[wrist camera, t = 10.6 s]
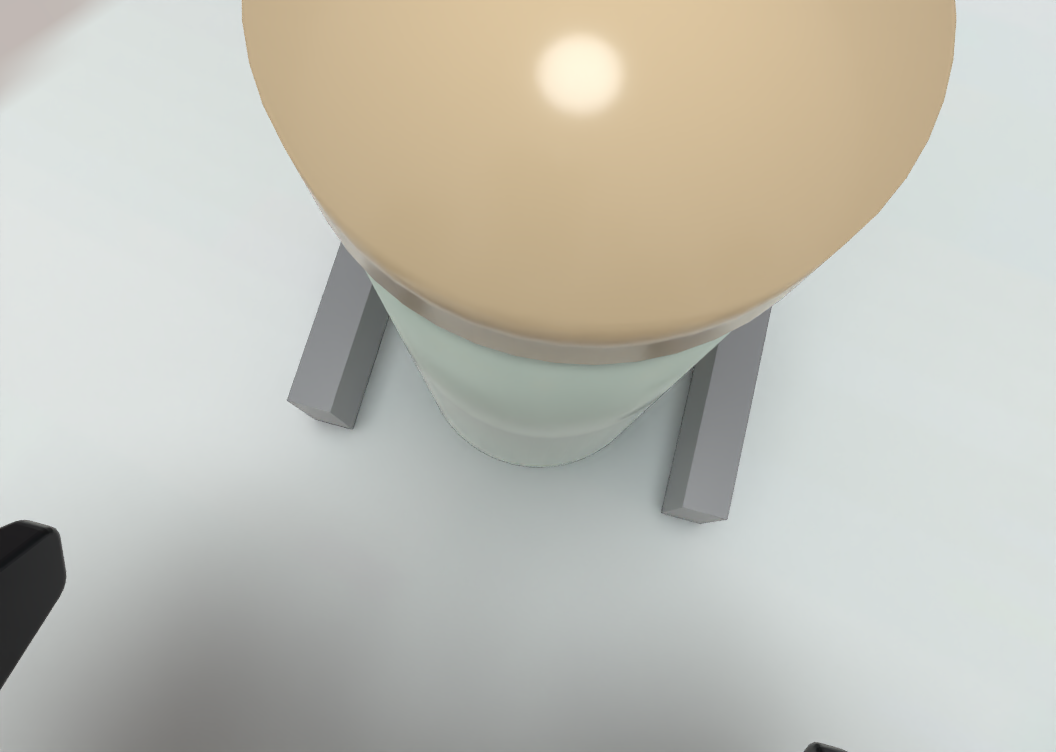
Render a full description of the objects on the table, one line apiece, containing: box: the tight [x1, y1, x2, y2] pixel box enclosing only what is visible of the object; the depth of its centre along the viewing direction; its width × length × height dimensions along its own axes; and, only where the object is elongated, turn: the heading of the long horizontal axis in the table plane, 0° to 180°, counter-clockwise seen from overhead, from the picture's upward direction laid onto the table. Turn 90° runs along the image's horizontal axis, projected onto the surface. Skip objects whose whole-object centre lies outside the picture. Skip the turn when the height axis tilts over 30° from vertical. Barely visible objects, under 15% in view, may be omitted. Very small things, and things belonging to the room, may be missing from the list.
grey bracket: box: [287, 242, 772, 524], centre depth 19 cm, size 12×10×5 cm
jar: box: [242, 0, 956, 467], centre depth 13 cm, size 6×6×14 cm
